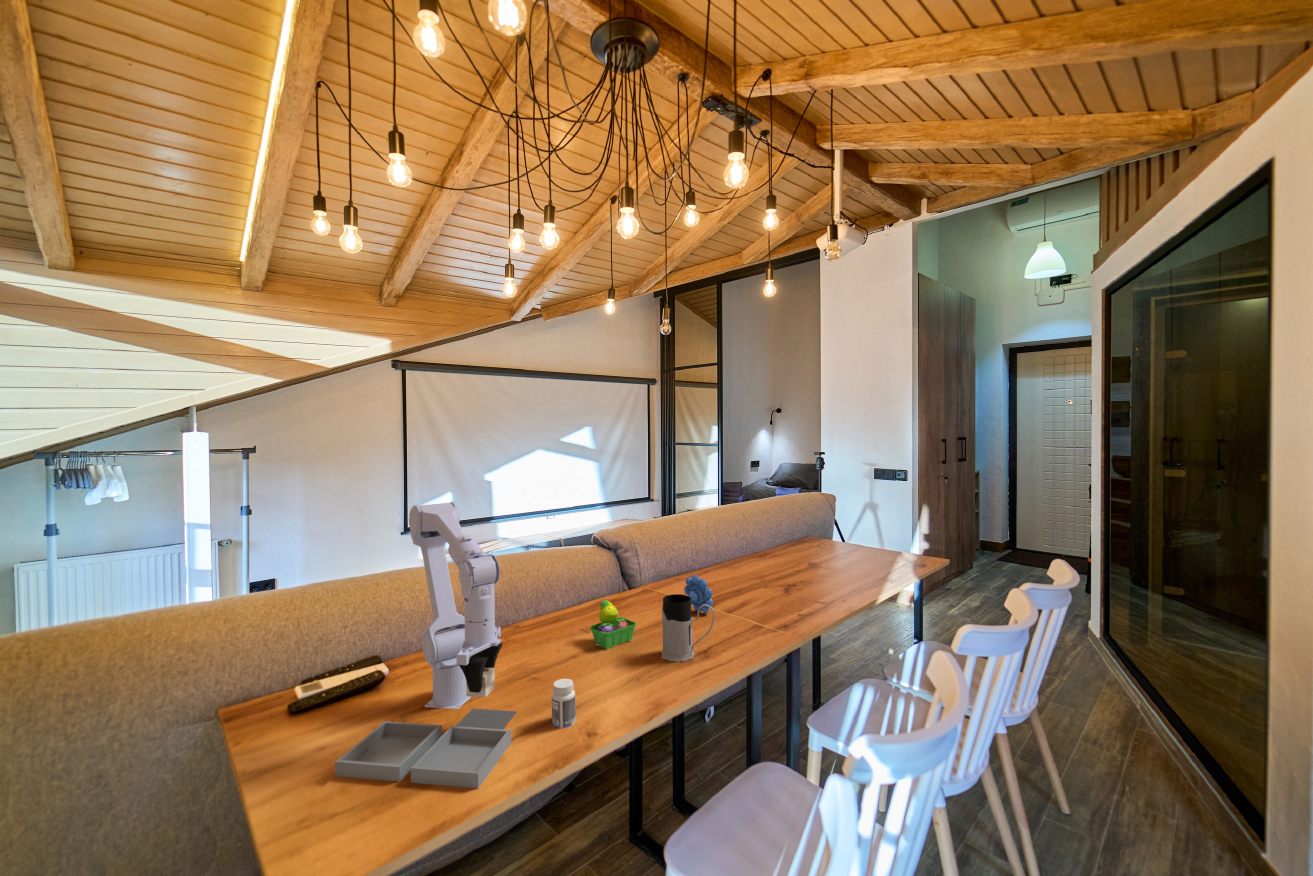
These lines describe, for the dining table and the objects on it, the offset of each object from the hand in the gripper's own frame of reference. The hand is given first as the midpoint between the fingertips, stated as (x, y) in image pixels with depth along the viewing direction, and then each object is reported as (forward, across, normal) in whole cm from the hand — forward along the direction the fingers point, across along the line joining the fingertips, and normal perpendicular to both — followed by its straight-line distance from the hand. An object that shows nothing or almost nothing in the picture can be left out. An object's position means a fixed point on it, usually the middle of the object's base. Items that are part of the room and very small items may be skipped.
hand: (480, 686), depth 105 cm
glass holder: (+9, +40, -38) cm, 56 cm away
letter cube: (+1, 0, 0) cm, 1 cm away
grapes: (+9, +74, -37) cm, 84 cm away
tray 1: (+9, -11, +12) cm, 18 cm away
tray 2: (+9, -11, -2) cm, 14 cm away
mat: (+9, +2, 0) cm, 9 cm away
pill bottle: (+9, +4, -16) cm, 19 cm away
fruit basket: (+9, +47, -16) cm, 50 cm away
